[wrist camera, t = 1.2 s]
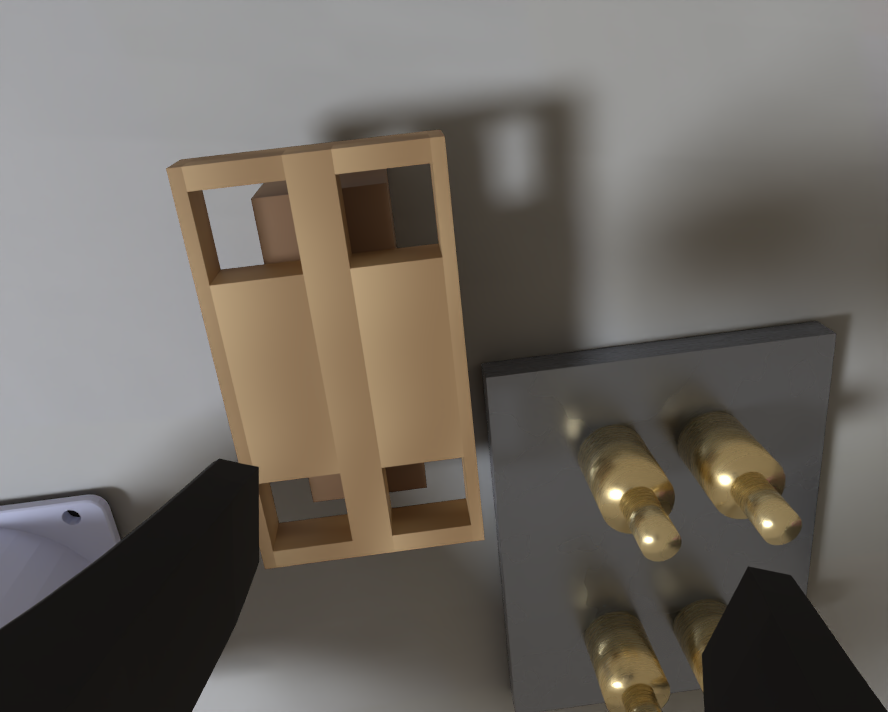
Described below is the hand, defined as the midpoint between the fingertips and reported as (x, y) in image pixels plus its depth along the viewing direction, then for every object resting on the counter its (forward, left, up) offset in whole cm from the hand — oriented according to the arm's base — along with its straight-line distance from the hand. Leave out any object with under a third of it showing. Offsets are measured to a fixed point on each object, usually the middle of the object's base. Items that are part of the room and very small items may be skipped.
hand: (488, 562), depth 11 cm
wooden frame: (-2, 0, -8) cm, 8 cm away
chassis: (+6, -8, -11) cm, 15 cm away
